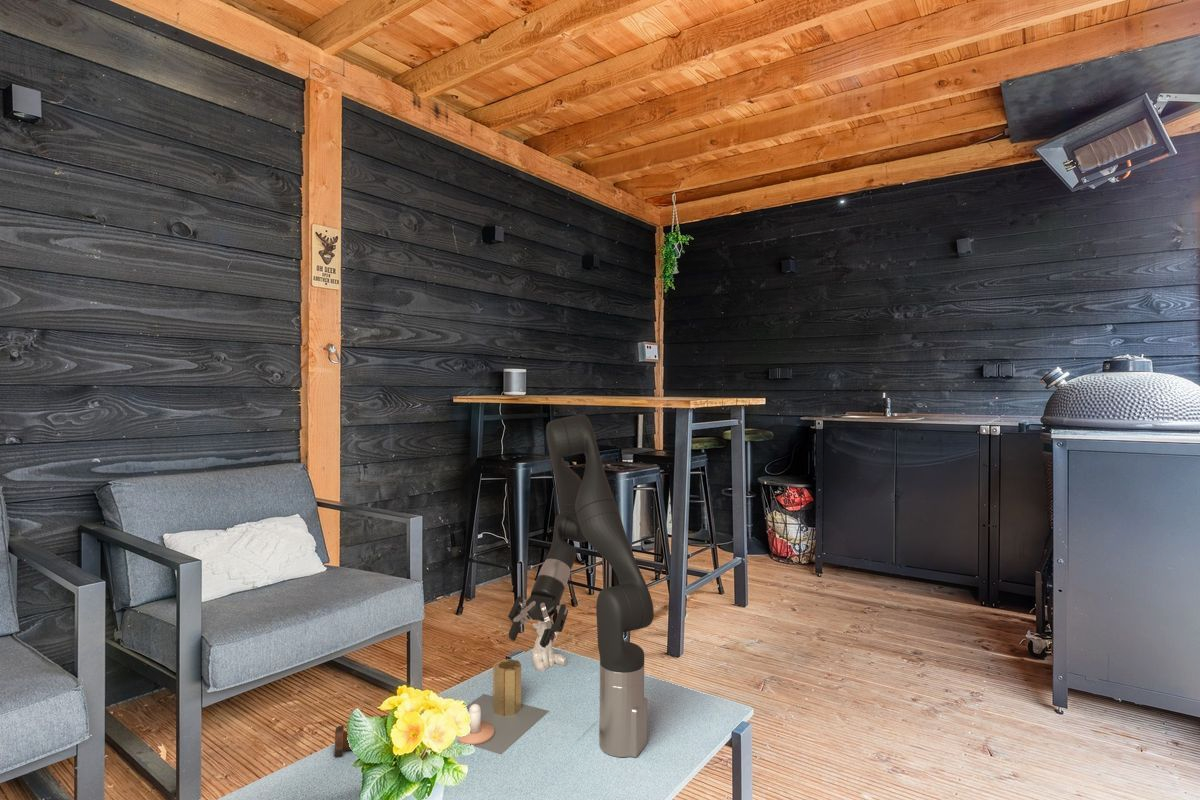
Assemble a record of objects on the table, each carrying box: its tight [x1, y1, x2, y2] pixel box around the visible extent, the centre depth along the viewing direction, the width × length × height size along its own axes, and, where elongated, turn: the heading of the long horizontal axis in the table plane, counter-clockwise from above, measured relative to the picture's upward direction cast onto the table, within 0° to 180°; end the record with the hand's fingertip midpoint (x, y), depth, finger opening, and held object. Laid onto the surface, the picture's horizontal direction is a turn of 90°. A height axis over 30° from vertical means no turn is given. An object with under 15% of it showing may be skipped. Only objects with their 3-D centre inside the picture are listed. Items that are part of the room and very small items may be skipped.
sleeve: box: [492, 658, 522, 716], centre depth 146 cm, size 6×6×10 cm
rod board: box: [457, 693, 550, 755], centre depth 140 cm, size 18×20×8 cm
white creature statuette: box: [530, 620, 568, 673], centre depth 172 cm, size 10×9×12 cm
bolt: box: [333, 725, 351, 759], centre depth 133 cm, size 6×5×15 cm
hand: (526, 642), depth 153 cm, fingers open, 8 cm apart
